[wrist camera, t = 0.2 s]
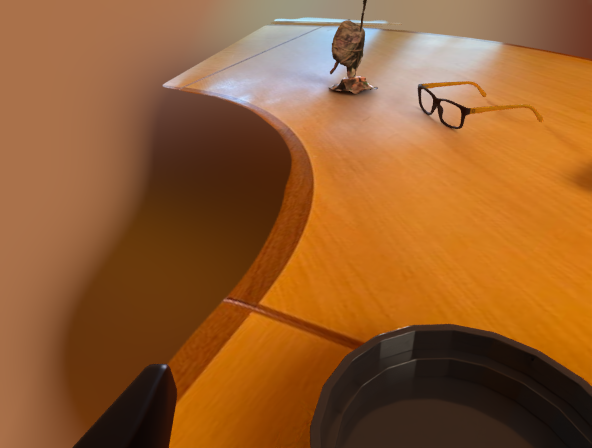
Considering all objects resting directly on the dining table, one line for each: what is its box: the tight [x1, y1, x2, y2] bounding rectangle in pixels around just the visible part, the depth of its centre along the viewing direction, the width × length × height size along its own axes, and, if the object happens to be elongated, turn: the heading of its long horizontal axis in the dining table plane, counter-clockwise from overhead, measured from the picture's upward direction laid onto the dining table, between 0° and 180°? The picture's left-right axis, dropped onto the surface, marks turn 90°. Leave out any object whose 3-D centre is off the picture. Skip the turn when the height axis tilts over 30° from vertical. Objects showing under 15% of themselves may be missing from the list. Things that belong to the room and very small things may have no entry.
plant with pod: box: [329, 0, 378, 94], centre depth 77 cm, size 8×11×20 cm
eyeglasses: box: [418, 81, 543, 129], centre depth 66 cm, size 14×14×4 cm
